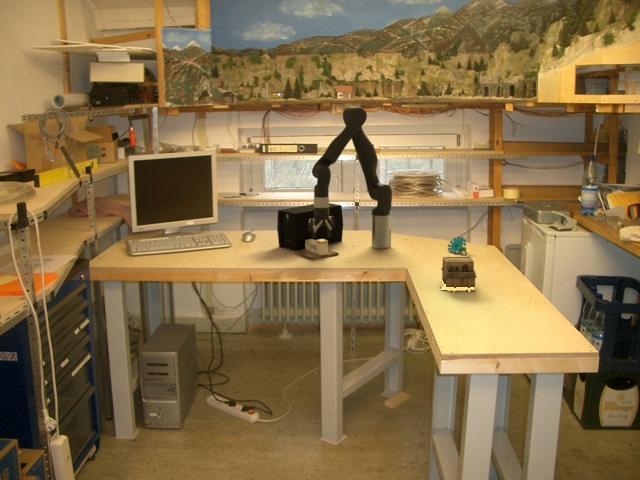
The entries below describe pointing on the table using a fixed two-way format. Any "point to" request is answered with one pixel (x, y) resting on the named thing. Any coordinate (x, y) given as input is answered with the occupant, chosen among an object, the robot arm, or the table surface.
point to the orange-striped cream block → (322, 247)
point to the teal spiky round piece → (457, 245)
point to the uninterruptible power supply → (306, 226)
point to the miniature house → (458, 272)
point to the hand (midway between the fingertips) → (321, 238)
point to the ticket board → (314, 256)
